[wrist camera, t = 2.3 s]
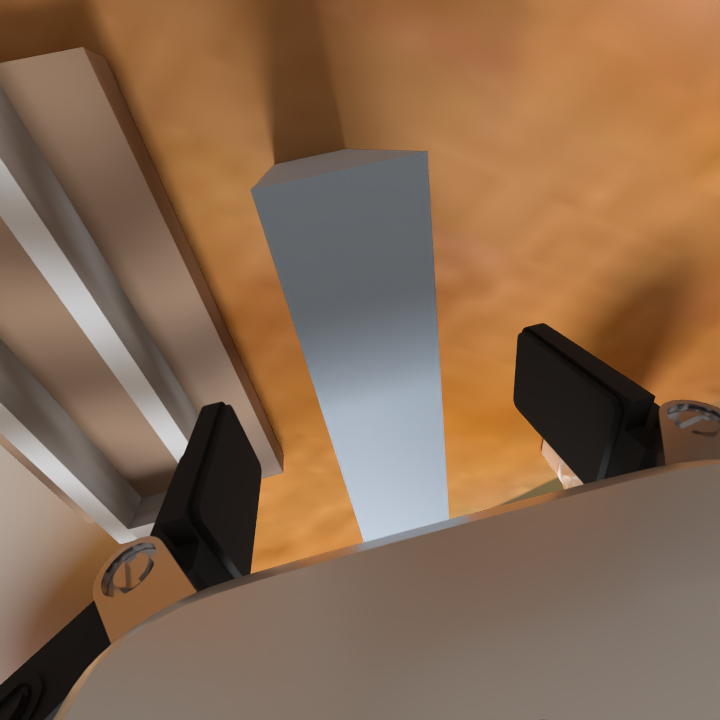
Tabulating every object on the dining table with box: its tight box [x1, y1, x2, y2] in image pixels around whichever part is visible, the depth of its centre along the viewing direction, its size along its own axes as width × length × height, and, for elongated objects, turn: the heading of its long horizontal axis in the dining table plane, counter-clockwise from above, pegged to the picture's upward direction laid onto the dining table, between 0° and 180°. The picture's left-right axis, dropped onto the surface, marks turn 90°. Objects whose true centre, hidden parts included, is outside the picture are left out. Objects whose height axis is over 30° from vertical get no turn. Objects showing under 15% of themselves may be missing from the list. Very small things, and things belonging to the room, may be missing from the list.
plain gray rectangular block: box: [251, 149, 449, 542], centre depth 13 cm, size 12×3×10 cm, turn 10°
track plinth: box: [0, 47, 284, 544], centre depth 15 cm, size 20×12×4 cm, turn 10°
